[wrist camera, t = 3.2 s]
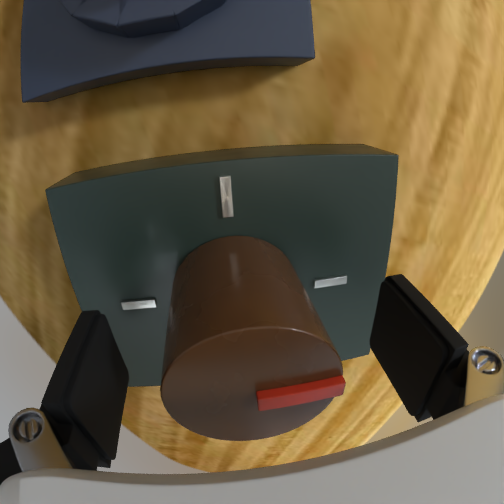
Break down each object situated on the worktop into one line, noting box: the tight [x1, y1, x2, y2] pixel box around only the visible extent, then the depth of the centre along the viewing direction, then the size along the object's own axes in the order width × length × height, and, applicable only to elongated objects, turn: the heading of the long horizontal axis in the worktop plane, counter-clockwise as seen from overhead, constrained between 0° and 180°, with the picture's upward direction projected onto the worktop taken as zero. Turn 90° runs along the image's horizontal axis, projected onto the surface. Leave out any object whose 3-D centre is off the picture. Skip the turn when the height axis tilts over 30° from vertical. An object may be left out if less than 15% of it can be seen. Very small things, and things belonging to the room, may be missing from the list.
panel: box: [46, 144, 398, 387], centre depth 13 cm, size 13×10×3 cm
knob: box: [160, 236, 346, 441], centre depth 10 cm, size 5×5×5 cm
